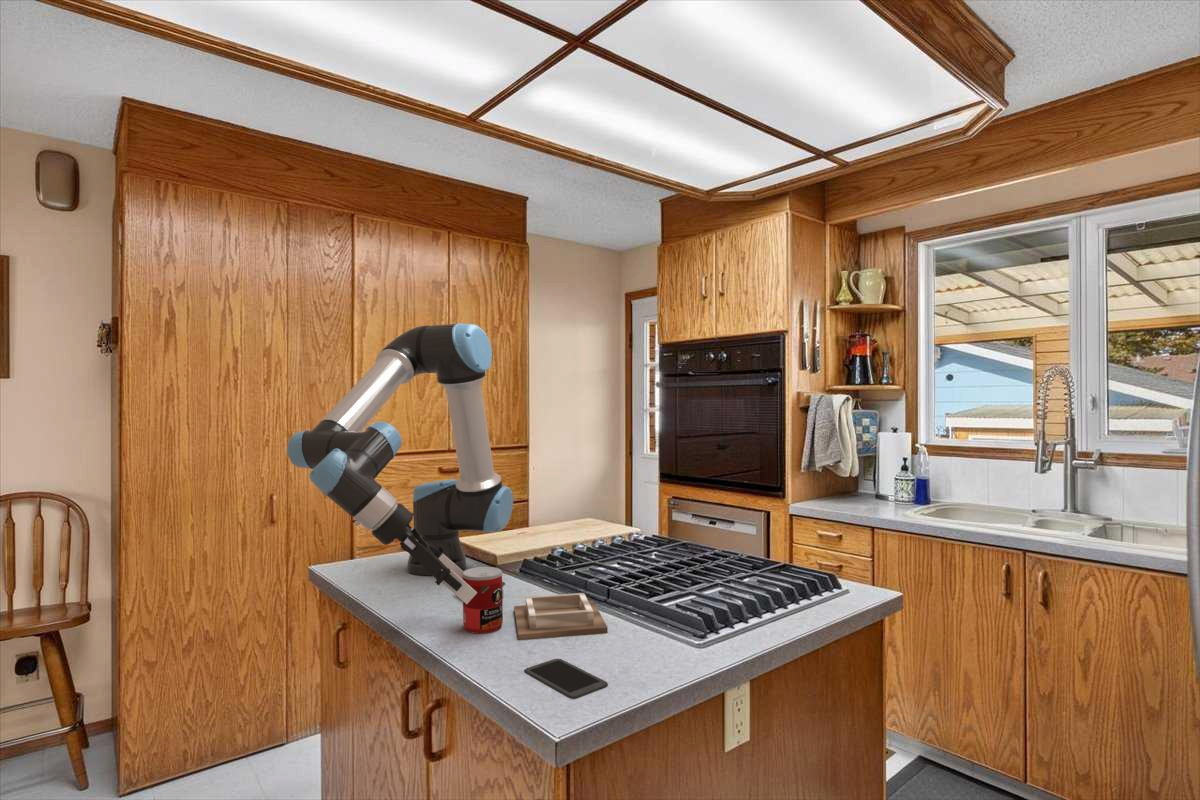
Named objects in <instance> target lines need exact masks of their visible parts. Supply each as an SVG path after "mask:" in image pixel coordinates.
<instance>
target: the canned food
mask: <svg viewBox="0 0 1200 800" xmlns="http://www.w3.org/2000/svg"><path fill="white" fill-rule="evenodd" d="M462 580H464V581H465V582H466V583H467V584H468V585H469V586H470V587H472V588H473V589H474V590H475V591H476V592H477V594H476V595H475V596H474V597H473V598H472V599H471V600H470V601H469V603H468V604H466V603H465V602H464V601H462V622H463V623H462V624H463V627H464V630H465V629H466V632H468V631H470V632H469V633H471V632H474V633H473V634H489V633H488V632H490V633H494V632H497V631H498V630H500V629H501V628H502V626H503V623H504V622H503V619H504V618H503V617H504V616H503V615H504V613H503V611H504V609H503V607H504V606H503V604H504V603H503V598H502V589H503V588H502V582H503V571H502V570H501V569H500V568H498V567H494V566H493V567H492V566H478V567H476V566H475V567H471V568H468V569H466V570H464V571H463V575H462Z"/></svg>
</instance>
